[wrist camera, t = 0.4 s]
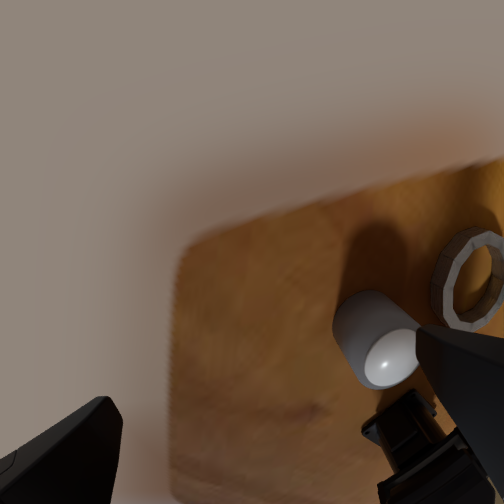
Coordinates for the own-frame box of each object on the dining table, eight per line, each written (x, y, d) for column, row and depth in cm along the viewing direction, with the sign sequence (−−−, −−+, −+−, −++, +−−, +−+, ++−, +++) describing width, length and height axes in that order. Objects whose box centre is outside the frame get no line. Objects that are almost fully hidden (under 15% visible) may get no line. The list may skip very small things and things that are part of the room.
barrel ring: (507, 274, 21) (519, 279, 19) (453, 341, 22) (464, 350, 21) (477, 206, 19) (491, 209, 18) (414, 282, 21) (426, 291, 19)
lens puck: (404, 317, 21) (440, 350, 16) (357, 361, 22) (383, 403, 17) (370, 276, 20) (406, 306, 15) (318, 325, 21) (341, 367, 16)
